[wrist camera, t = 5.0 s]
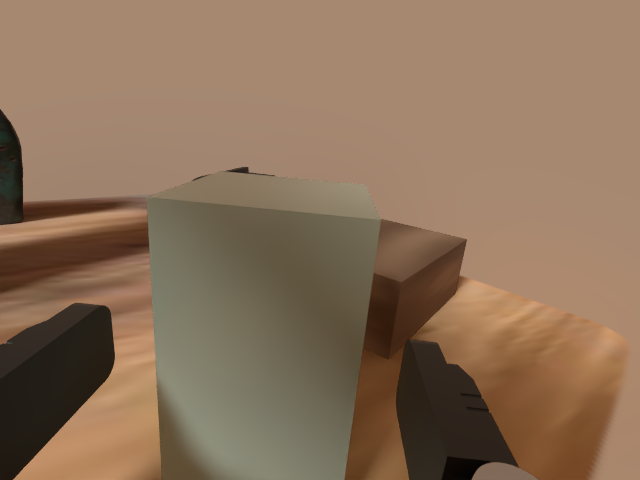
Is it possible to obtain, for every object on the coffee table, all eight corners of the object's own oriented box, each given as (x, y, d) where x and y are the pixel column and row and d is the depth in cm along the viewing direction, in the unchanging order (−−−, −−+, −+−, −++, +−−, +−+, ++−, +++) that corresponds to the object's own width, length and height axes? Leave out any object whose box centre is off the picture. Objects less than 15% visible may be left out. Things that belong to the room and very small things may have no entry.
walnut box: (241, 294, 27) (243, 229, 25) (334, 257, 36) (339, 208, 35) (387, 364, 20) (401, 282, 19) (454, 297, 30) (466, 239, 28)
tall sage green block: (163, 505, 12) (146, 196, 9) (219, 386, 17) (220, 171, 14) (337, 526, 11) (380, 219, 9) (338, 400, 17) (365, 185, 14)
